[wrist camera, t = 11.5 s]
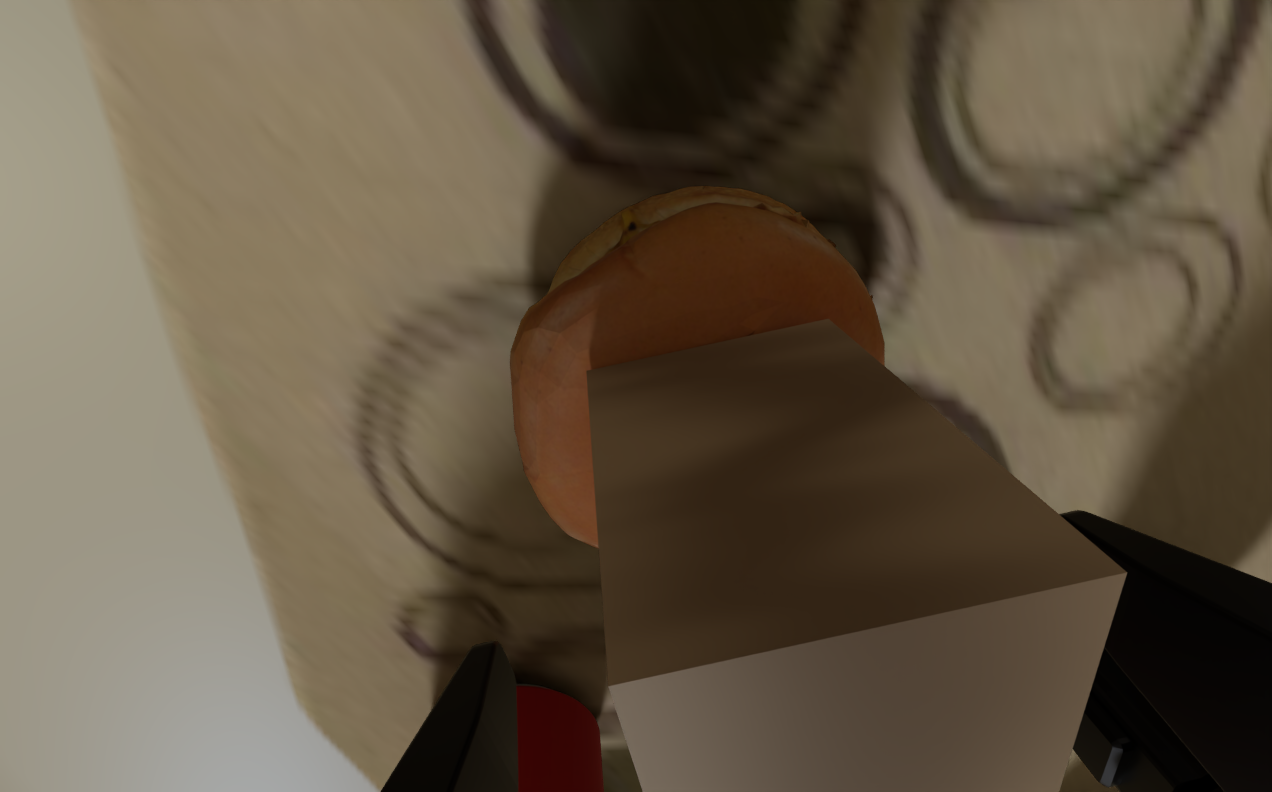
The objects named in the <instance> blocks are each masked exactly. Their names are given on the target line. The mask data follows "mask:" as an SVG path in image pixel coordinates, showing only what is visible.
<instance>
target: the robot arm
mask: <svg viewBox="0 0 1272 792" xmlns="http://www.w3.org/2000/svg"><path fill="white" fill-rule="evenodd" d="M1059 515H1060V516H1061V517H1063V518H1064V519H1065V520H1066V521H1067V522H1068V523H1070V524H1071V525H1072V526H1073V527H1074V528H1075V529H1077V530H1078V531H1079V532H1080V533H1081V534H1083V535H1084V536H1085V537H1086V538H1087V539H1088V540H1090V541H1091V542H1092V543H1093V544H1094V545H1095V546H1097V547H1098V548H1099V549H1100V550H1101V551H1103V552H1104V553H1105V554H1106V555H1107V556H1108V557H1110V558H1111V559H1112V560H1113V561H1114V562H1116V563H1117V564H1118V565H1119V566H1120V567H1121V568H1123V569H1124V570H1125V571H1126V572H1127V575H1126V578H1125V581H1124V585H1123V588H1122V591H1121V594H1120V598H1119V601H1118V604H1117V607H1116V610H1115V614H1114V617H1113V620H1112V623H1111V627H1110V630H1109V633H1108V636H1107V639H1106V643H1105V646H1104V649H1103V652H1102V655H1101V659H1100V662H1099V665H1098V668H1097V672H1096V675H1095V678H1094V681H1093V684H1092V688H1091V691H1090V694H1089V697H1088V701H1087V704H1086V707H1085V710H1084V713H1083V717H1082V720H1081V723H1080V726H1079V730H1078V733H1077V736H1076V739H1075V742H1074V746H1073V750H1074V751H1075V752H1076V754H1077V755H1078V756H1079V758H1080V759H1081V760H1082V761H1083V763H1084V764H1085V765H1086V767H1087V768H1088V769H1089V770H1090V772H1091V773H1092V774H1093V776H1094V777H1095V778H1096V779H1097V781H1098V782H1100V783H1101V784H1103V785H1104V786H1106V787H1108V788H1109V787H1113V786H1116V787H1117V789H1118V790H1119V791H1120V792H1272V583H1270V582H1267V581H1265V580H1262V579H1260V578H1257V577H1254V576H1252V575H1249V574H1247V573H1244V572H1241V571H1239V570H1236V569H1234V568H1231V567H1228V566H1226V565H1223V564H1221V563H1218V562H1215V561H1213V560H1210V559H1208V558H1205V557H1203V556H1200V555H1197V554H1195V553H1192V552H1190V551H1187V550H1184V549H1182V548H1179V547H1177V546H1174V545H1171V544H1169V543H1166V542H1164V541H1161V540H1158V539H1156V538H1153V537H1151V536H1148V535H1145V534H1143V533H1140V532H1138V531H1135V530H1133V529H1130V528H1127V527H1125V526H1122V525H1120V524H1117V523H1114V522H1112V521H1109V520H1107V519H1104V518H1101V517H1099V516H1096V515H1094V514H1091V513H1088V512H1085V511H1081V510H1077V511H1071V512H1067V513H1062V514H1059ZM381 792H518V736H517V690H516V679H515V675H514V672H513V669H512V667H511V665H510V663H509V661H508V659H507V656H506V654H505V652H504V650H503V648H502V646H501V644H500V643H499V642H498V641H490V642H486V643H481V644H477V645H474V646H473V647H472V648H471V649H470V650H469V651H468V653H467V655H466V656H465V658H464V659H463V661H462V663H461V664H460V666H459V667H458V669H457V670H456V672H455V674H454V675H453V677H452V678H451V680H450V682H449V683H448V685H447V686H446V688H445V690H444V691H443V693H442V694H441V696H440V698H439V699H438V701H437V702H436V704H435V706H434V707H433V709H432V710H431V712H430V713H429V715H428V717H427V718H426V720H425V721H424V723H423V725H422V726H421V728H420V729H419V731H418V733H417V734H416V736H415V737H414V739H413V741H412V742H411V744H410V745H409V747H408V749H407V750H406V752H405V753H404V755H403V756H402V758H401V760H400V761H399V763H398V764H397V766H396V768H395V769H394V771H393V772H392V774H391V776H390V777H389V779H388V780H387V782H386V784H385V785H384V787H383V788H382V790H381Z"/></svg>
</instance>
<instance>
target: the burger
mask: <svg viewBox="0 0 1272 792" xmlns="http://www.w3.org/2000/svg"><path fill="white" fill-rule="evenodd" d="M835 247H836V245H835V244H834V243H833V242H832V241H830V240H827V239H826V238H825V237H823V236H822V235H821V234H820V233H819V232H818V231H817V229H816V228H815V227H814V226H813V225H812V224H811V223H810V222H809V220H806V219H805V218H804V217H803V216H802V215H801V212H798V213H797V212H796V211H795V210H793V209H792V208H790V207H788V206H787V205H785V204H784V203H780V202H777V201H775V200H773V199H772V198H770V197H768V196H765V195H762V194H759V193H755V192H751V191H748V190H744V189H740V188H734V189H733V188H727V187H711V186H696V187H686V188H682V189H678V190H675V191H672V192H670V193H665V194H659V195H655V196H652V197H650V198H647V199H645V200H643V201H641V202H639V203H637V204H634V205H632V206H630V207H627V208H625V209H623V210H622V211H620V212H619V213H617V214H616V215H614V216H613V217H611V218H610V219H609V220H607V221H606V222H604V223H603V224H602V225H601V226H600V227H599V228H597V229H596V230H595V231H593V232H592V233H591V234H589V235H588V236H587V237H586V238H584V239H583V240H582V241H580V242H579V243H578V244H577V245H576V246H575V247H574V248H573V249H572V250H571V251H570V253H569V254H568V255H567V256H566V257H565V259H564V260H563V261H562V262H561V264H560V266H559V268H558V270H557V272H556V274H555V276H554V278H553V281H552V284H551V286H550V289H549V291H548V293H547V295H546V296H544V297H543V298H542V299H541V300H540V301H539V302H537V303H536V304H534V305H533V306H531V307H530V308H529V309H528V311H527V312H526V314H525V315H524V317H523V319H522V320H521V323H520V325H519V328H518V331H517V334H516V337H515V340H514V343H513V346H512V349H511V355H510V369H511V384H512V399H513V414H514V429H515V433H516V437H517V442H518V446H519V450H520V454H521V458H522V461H523V467H524V472H525V474H526V476H527V478H528V480H529V482H530V484H531V486H532V488H533V490H534V492H535V493H536V495H537V497H538V499H539V501H540V503H541V504H542V506H543V507H544V509H545V510H546V511H547V513H548V514H549V516H550V517H551V518H552V520H553V521H554V522H555V523H556V524H557V525H558V526H559V527H560V528H561V529H562V530H563V531H564V532H565V533H566V534H568V535H569V536H571V537H573V538H575V539H577V540H579V541H582V542H584V543H586V544H589V545H591V546H593V547H596V548H598V549H599V547H598V532H597V518H596V503H595V489H594V475H593V460H592V446H591V431H590V417H589V403H588V388H587V374H586V371H588V370H593V369H597V368H602V367H607V366H611V365H616V364H621V363H625V362H630V361H634V360H639V359H644V358H648V357H653V356H658V355H662V354H667V353H672V352H676V351H681V350H685V349H690V348H695V347H699V346H704V345H709V344H713V343H718V342H723V341H727V340H732V339H737V338H741V337H746V336H750V335H755V334H760V333H764V332H769V331H774V330H778V329H783V328H788V327H792V326H797V325H802V324H806V323H811V322H815V321H820V320H825V319H829V320H831V321H832V322H833V323H834V324H835V325H836V326H838V327H839V328H840V329H841V330H842V331H844V332H845V333H846V334H847V335H848V336H849V337H851V338H852V339H853V340H854V341H855V342H857V343H858V344H859V345H860V346H861V347H862V348H864V349H865V350H866V351H867V352H868V353H869V354H871V355H872V356H873V357H874V358H875V359H877V360H878V361H879V362H880V363H881V364H882V365H884V339H883V335H882V332H881V328H880V324H879V320H878V316H877V313H876V309H875V306H874V303H873V301H872V298H873V295H871V296H870V295H869V293H868V291H867V289H866V287H865V284H864V283H863V281H862V280H861V278H860V276H859V274H858V272H857V271H856V270H855V268H854V267H853V266H851V265H850V264H849V263H848V261H847V260H846V259H845V258H844V257H843V256H842V255H841V254H840V253H839V252H838V251H837V249H836V248H835Z"/></svg>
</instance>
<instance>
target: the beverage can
mask: <svg viewBox="0 0 1272 792" xmlns="http://www.w3.org/2000/svg"><path fill="white" fill-rule="evenodd" d="M516 690H517V736H518V792H604V788H603V773H602V758H601V744H600V732H599V727H598V724H597V722H596V719H595V718H594V716H593V715H592V713H591V712H590V711H589V710H588V709H587V708H586V707H585V706H584V705H583V704H581V703H580V702H579V701H577V700H576V699H574V698H572V697H570V696H568V695H566V694H563V693H561V692H558V691H555V690H552V689H549V688H546V687H543V686H539V685H532V684H516Z"/></svg>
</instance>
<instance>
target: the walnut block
mask: <svg viewBox="0 0 1272 792" xmlns="http://www.w3.org/2000/svg"><path fill="white" fill-rule="evenodd" d="M586 374H587V388H588V403H589V417H590V431H591V446H592V460H593V475H594V489H595V503H596V518H597V532H598V547H599V561H600V576H601V590H602V604H603V619H604V633H605V648H606V662H607V677H608V687H609V690H610V693H611V696H612V699H613V702H614V706H615V709H616V712H617V715H618V718H619V721H620V724H621V727H622V730H623V733H624V736H625V739H626V742H627V745H628V748H629V751H630V754H631V757H632V760H633V763H634V766H635V769H636V772H637V775H638V778H639V781H640V784H641V787H642V790H643V792H1059V791H1060V787H1061V784H1062V781H1063V778H1064V775H1065V771H1066V768H1067V765H1068V762H1069V758H1070V755H1071V752H1072V749H1073V746H1074V742H1075V739H1076V736H1077V733H1078V730H1079V726H1080V723H1081V720H1082V717H1083V713H1084V710H1085V707H1086V704H1087V701H1088V697H1089V694H1090V691H1091V688H1092V684H1093V681H1094V678H1095V675H1096V672H1097V668H1098V665H1099V662H1100V659H1101V655H1102V652H1103V649H1104V646H1105V643H1106V639H1107V636H1108V633H1109V630H1110V627H1111V623H1112V620H1113V617H1114V614H1115V610H1116V607H1117V604H1118V601H1119V598H1120V594H1121V591H1122V588H1123V585H1124V581H1125V578H1126V575H1127V572H1126V571H1125V570H1124V569H1123V568H1121V567H1120V566H1119V565H1118V564H1117V563H1116V562H1114V561H1113V560H1112V559H1111V558H1110V557H1108V556H1107V555H1106V554H1105V553H1104V552H1103V551H1101V550H1100V549H1099V548H1098V547H1097V546H1095V545H1094V544H1093V543H1092V542H1091V541H1090V540H1088V539H1087V538H1086V537H1085V536H1084V535H1083V534H1081V533H1080V532H1079V531H1078V530H1077V529H1075V528H1074V527H1073V526H1072V525H1071V524H1070V523H1068V522H1067V521H1066V520H1065V519H1064V518H1063V517H1061V516H1060V515H1059V514H1058V513H1057V512H1055V511H1054V510H1053V509H1052V508H1051V507H1050V506H1048V505H1047V504H1046V503H1045V502H1044V501H1043V500H1041V499H1040V498H1039V497H1038V496H1037V495H1035V494H1034V493H1033V492H1032V491H1031V490H1030V489H1028V488H1027V487H1026V486H1025V485H1024V484H1023V483H1021V482H1020V481H1019V480H1018V479H1017V478H1015V477H1014V476H1013V475H1012V474H1011V473H1010V472H1008V471H1007V470H1006V469H1005V468H1004V467H1002V466H1001V465H1000V464H999V463H998V462H997V461H995V460H994V459H993V458H992V457H991V456H990V455H988V454H987V453H986V452H985V451H984V450H982V449H981V448H980V447H979V446H978V445H977V444H975V443H974V442H973V441H972V440H971V439H970V438H968V437H967V436H966V435H965V434H964V433H962V432H961V431H960V430H959V429H958V428H957V427H955V426H954V425H953V424H952V423H951V422H950V421H948V420H947V419H946V418H945V417H944V416H942V415H941V414H940V413H939V412H938V411H937V410H935V409H934V408H933V407H932V406H931V405H929V404H928V403H927V402H926V401H925V400H924V399H922V398H921V397H920V396H919V395H918V394H917V393H915V392H914V391H913V390H912V389H911V388H909V387H908V386H907V385H906V384H905V383H904V382H902V381H901V380H900V379H899V378H898V377H897V376H895V375H894V374H893V373H892V372H891V371H889V370H888V369H887V368H886V367H885V366H884V365H882V364H881V363H880V362H879V361H878V360H877V359H875V358H874V357H873V356H872V355H871V354H869V353H868V352H867V351H866V350H865V349H864V348H862V347H861V346H860V345H859V344H858V343H857V342H855V341H854V340H853V339H852V338H851V337H849V336H848V335H847V334H846V333H845V332H844V331H842V330H841V329H840V328H839V327H838V326H836V325H835V324H834V323H833V322H832V321H831V320H829V319H825V320H820V321H815V322H811V323H806V324H802V325H797V326H792V327H788V328H783V329H778V330H774V331H769V332H764V333H760V334H755V335H750V336H746V337H741V338H737V339H732V340H727V341H723V342H718V343H713V344H709V345H704V346H699V347H695V348H690V349H685V350H681V351H676V352H672V353H667V354H662V355H658V356H653V357H648V358H644V359H639V360H634V361H630V362H625V363H621V364H616V365H611V366H607V367H602V368H597V369H593V370H588V371H586Z"/></svg>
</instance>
